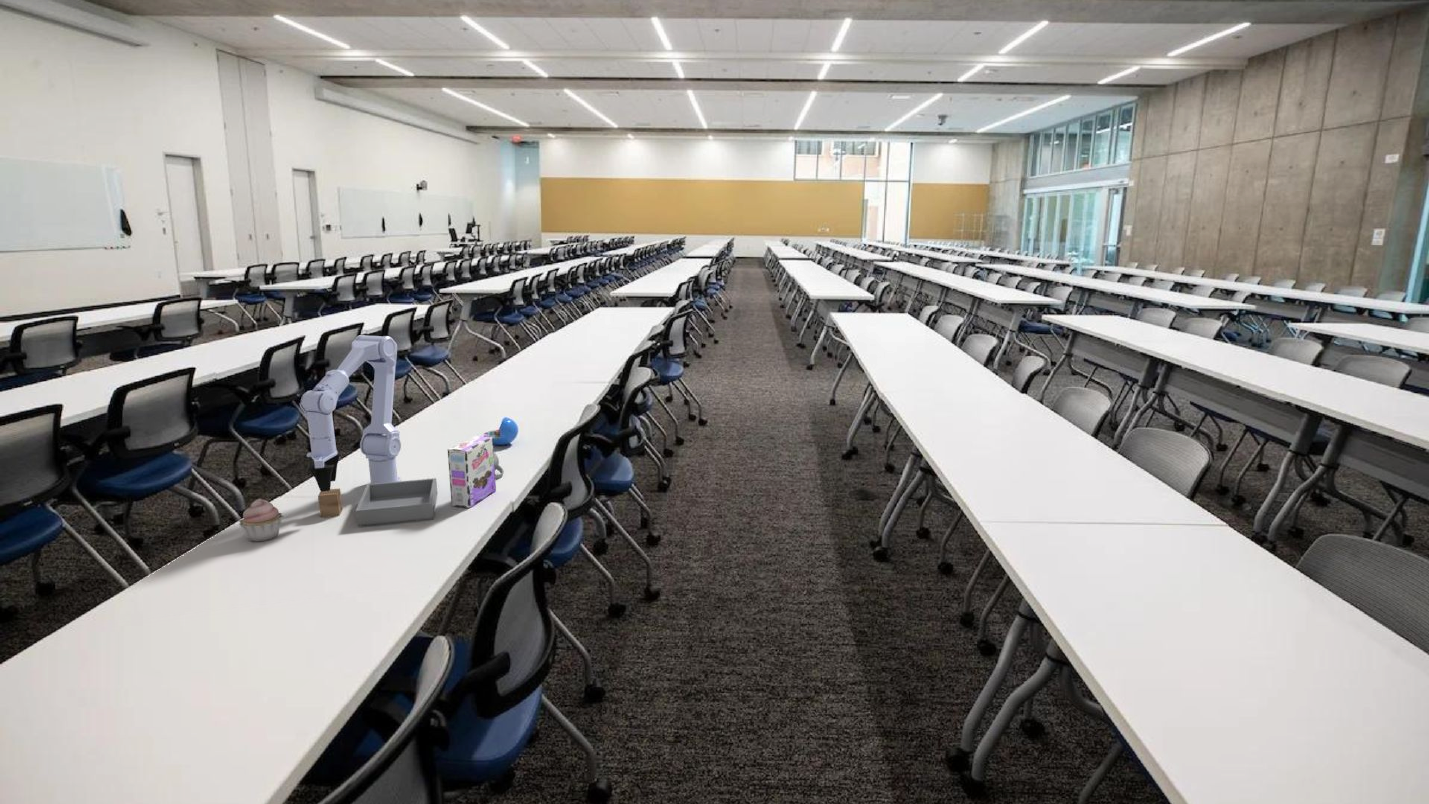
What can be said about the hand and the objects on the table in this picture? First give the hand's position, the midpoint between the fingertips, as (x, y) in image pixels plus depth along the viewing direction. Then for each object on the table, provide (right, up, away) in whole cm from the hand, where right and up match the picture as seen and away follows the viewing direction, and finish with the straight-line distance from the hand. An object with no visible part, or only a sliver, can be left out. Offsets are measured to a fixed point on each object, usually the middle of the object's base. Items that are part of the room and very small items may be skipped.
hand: (328, 485), depth 196 cm
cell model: (+28, +7, +63) cm, 69 cm away
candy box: (+34, -5, +13) cm, 37 cm away
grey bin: (+17, -7, +5) cm, 19 cm away
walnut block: (0, -8, +2) cm, 8 cm away
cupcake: (-9, -11, -13) cm, 19 cm away
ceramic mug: (+32, -1, +31) cm, 45 cm away
